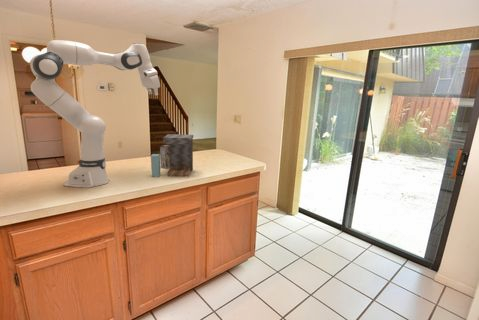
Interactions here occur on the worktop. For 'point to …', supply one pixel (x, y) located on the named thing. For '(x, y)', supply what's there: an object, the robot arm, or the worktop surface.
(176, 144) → the dark grey upright block
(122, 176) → the worktop surface
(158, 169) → the peg
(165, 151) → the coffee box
